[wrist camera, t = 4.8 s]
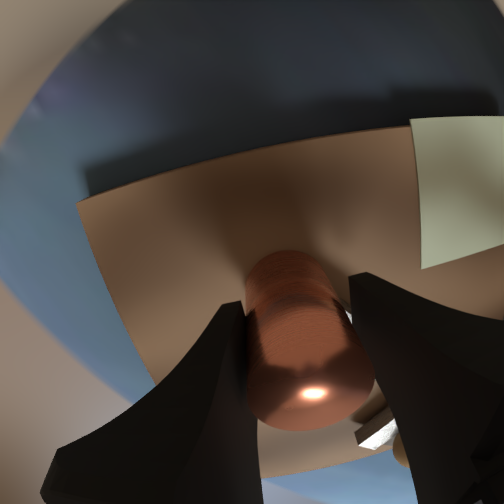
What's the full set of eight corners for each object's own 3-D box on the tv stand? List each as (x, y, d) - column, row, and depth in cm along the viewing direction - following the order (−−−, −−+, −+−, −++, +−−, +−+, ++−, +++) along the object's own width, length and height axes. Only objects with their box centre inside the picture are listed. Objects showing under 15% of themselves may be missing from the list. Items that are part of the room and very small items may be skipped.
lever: (466, 363, 14) (510, 425, 9) (380, 438, 16) (403, 504, 11) (288, 222, 10) (325, 301, 6) (182, 354, 12) (160, 458, 8)
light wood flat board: (463, 405, 17) (488, 447, 13) (221, 469, 19) (219, 522, 14) (498, 115, 10) (570, 123, 6) (87, 189, 11) (17, 223, 7)
